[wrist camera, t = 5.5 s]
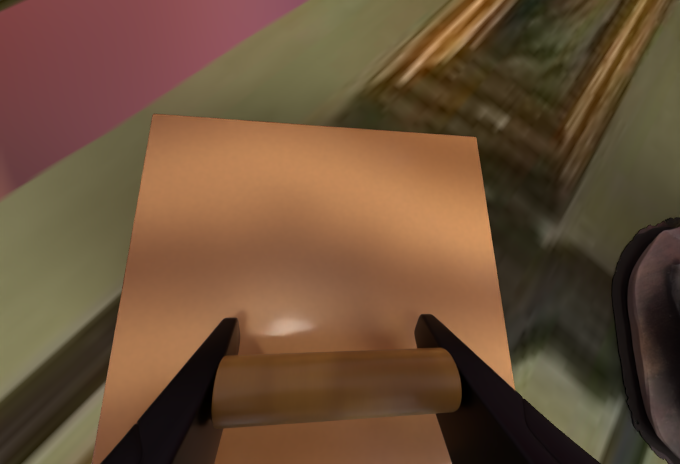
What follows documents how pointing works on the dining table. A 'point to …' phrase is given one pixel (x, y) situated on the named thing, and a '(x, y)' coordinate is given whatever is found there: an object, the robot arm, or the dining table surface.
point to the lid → (307, 287)
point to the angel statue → (651, 333)
